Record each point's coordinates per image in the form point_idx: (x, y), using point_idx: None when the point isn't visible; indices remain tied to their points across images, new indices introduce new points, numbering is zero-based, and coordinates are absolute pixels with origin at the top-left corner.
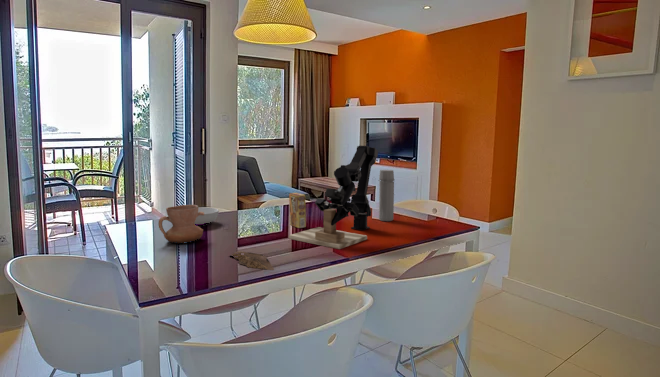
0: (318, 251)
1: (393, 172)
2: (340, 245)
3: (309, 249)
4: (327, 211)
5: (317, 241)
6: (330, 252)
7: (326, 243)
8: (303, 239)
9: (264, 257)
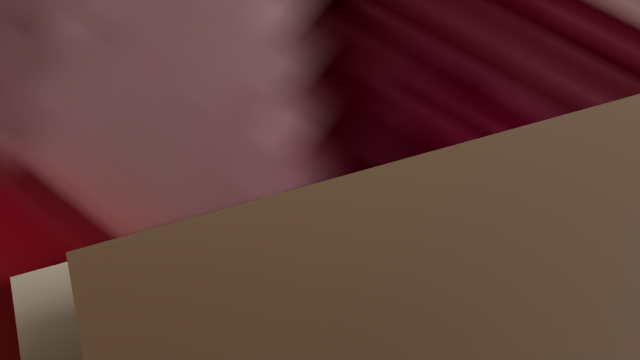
0: (140, 45)
1: None
2: (17, 301)
3: (265, 15)
4: (337, 188)
5: None
6: (19, 122)
7: None
8: None
9: None
